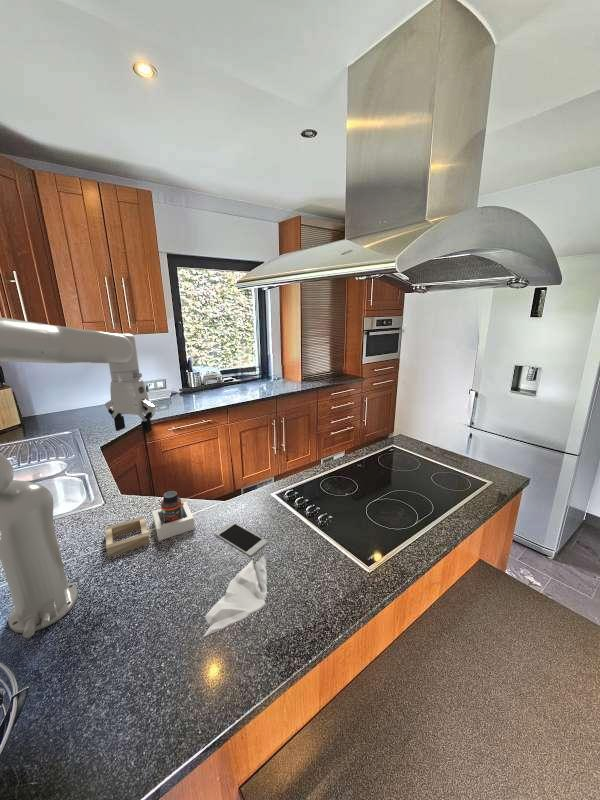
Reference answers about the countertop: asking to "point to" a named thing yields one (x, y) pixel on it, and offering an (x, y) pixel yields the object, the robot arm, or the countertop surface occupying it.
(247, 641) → the countertop surface
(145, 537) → the block
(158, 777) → the countertop surface
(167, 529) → the socket block
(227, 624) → the cloth
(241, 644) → the countertop surface
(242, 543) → the smartphone
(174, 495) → the supplement bottle
